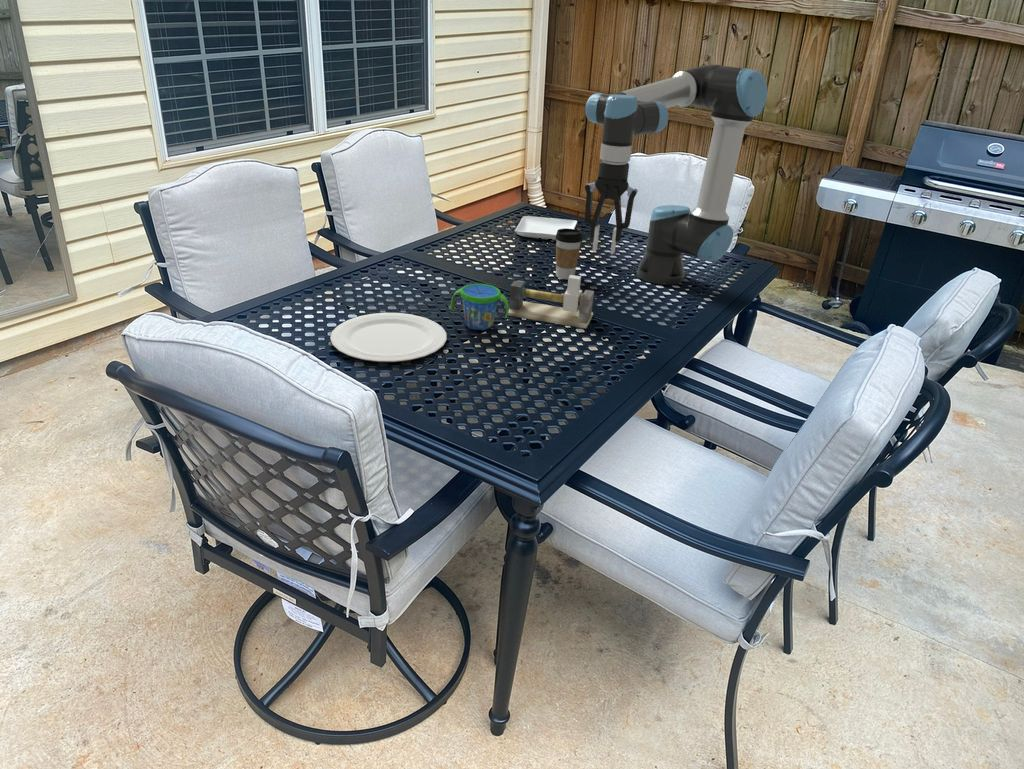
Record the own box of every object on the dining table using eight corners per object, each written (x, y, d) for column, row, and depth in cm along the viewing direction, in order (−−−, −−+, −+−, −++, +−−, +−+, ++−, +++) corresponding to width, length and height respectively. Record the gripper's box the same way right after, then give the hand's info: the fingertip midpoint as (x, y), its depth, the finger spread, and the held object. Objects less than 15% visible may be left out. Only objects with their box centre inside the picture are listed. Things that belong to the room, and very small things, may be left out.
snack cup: (512, 323, 202) (514, 288, 197) (500, 338, 193) (502, 302, 188) (459, 313, 206) (460, 279, 201) (444, 328, 197) (445, 292, 192)
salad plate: (513, 239, 270) (514, 229, 268) (522, 223, 288) (523, 214, 287) (571, 245, 267) (572, 236, 266) (576, 229, 286) (577, 220, 284)
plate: (396, 379, 170) (396, 372, 170) (305, 345, 183) (305, 338, 182) (469, 338, 193) (469, 331, 192) (383, 310, 206) (383, 303, 205)
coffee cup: (568, 282, 232) (573, 236, 225) (546, 276, 236) (550, 230, 229) (583, 276, 238) (588, 230, 231) (561, 269, 242) (565, 225, 235)
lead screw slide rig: (593, 315, 210) (596, 289, 206) (586, 328, 202) (589, 302, 198) (515, 302, 215) (517, 277, 211) (505, 314, 207) (507, 288, 203)
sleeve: (580, 306, 207) (583, 275, 203) (576, 312, 203) (580, 281, 199) (566, 304, 208) (569, 273, 204) (562, 310, 204) (565, 278, 200)
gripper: (650, 162, 186) (637, 251, 197) (583, 154, 190) (574, 242, 201) (646, 168, 179) (633, 260, 191) (577, 160, 183) (568, 250, 194)
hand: (603, 251), depth 196 cm, fingers open, 4 cm apart
